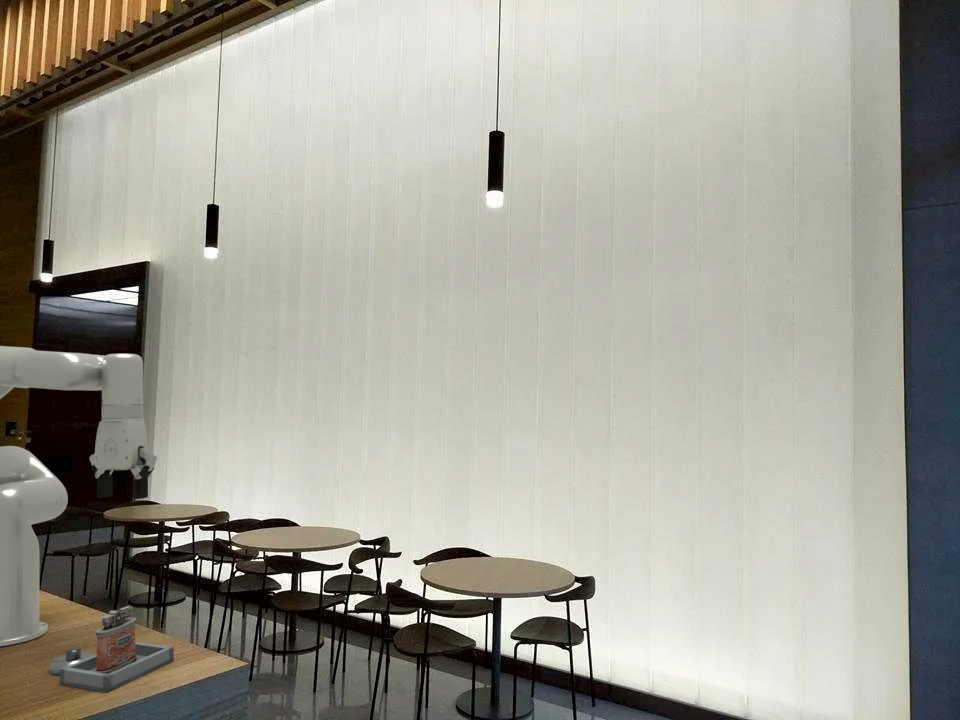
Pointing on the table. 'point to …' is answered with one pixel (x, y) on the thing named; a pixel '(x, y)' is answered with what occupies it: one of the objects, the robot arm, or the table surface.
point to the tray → (88, 678)
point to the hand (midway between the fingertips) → (122, 497)
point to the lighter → (116, 641)
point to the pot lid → (68, 659)
